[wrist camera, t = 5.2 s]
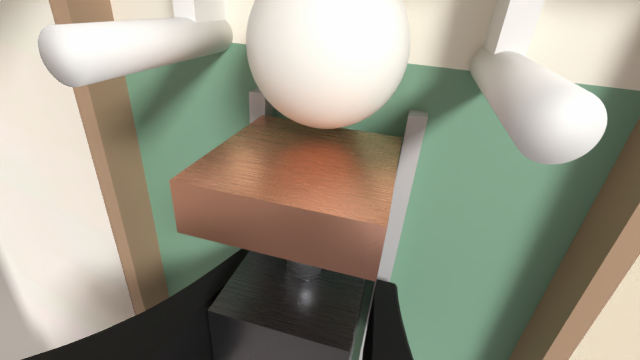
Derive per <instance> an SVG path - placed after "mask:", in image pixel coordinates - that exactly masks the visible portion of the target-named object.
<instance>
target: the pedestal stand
mask: <svg viewBox="0 0 640 360" xmlns="http://www.w3.org/2000/svg"><path fill="white" fill-rule="evenodd" d="M401 142H402V137H395V136H389V135H383V134H377V133H371V132H364V131H358V130H352V129H346V128H335V129H320V128H313V127H309V126H306V125H302V124H299V123H297V122H295V121H293V120H290V119H284V118H277V117H271V116H265V115H262V116H260V117H259V118H257V119H256V120H255V121H253V122H252V123H250V124H249V125H247V126H246V127H245V128H243V129H242V130H240V131H239V132H237V133H236V134H235V135H233V136H232V137H230V138H229V139H227V140H226V141H224V142H223V143H222V144H220V145H219V146H217V147H216V148H214V149H213V150H212V151H210V152H209V153H207V154H206V155H204V156H203V157H202V158H200V159H199V160H197V161H196V162H194V163H193V164H191V165H190V166H189V167H187V168H186V169H184V170H183V171H181V172H180V173H179V174H177V175H176V176H174V177H173V178H171V179H170V180H169V183H170V189H171V195H172V202H173V208H174V214H175V220H176V226H177V233H181V234H185V235H189V236H194V237H198V238H202V239H206V240H210V241H214V242H218V243H222V244H226V245H230V246H234V247H238V248H242V249H246V250H250V251H249V252H248V254H247V255H246V257H245V258H244V259H243V261H242V262H241V264H240V265H239V267H238V268H237V269H236V271H235V272H234V274H233V275H232V277H231V278H230V279H229V281H228V282H227V284H226V285H225V286H224V288H223V289H222V291H221V292H220V294H219V295H218V296H217V298H216V299H215V301H214V302H213V304H212V305H211V306H210V308H209V309H208V317H209V325H210V333H211V341H212V349H213V357H214V360H351V357H352V352H353V347H354V342H355V337H356V333H357V327H358V322H359V317H360V311H361V306H362V300H363V295H364V290H365V284H366V279H367V280H371V281H375V282H376V280H377V275H378V270H379V265H380V261H381V256H382V251H383V246H384V241H385V236H386V231H387V227H388V220H389V214H390V208H391V202H392V196H393V190H394V184H395V178H396V172H397V166H398V160H399V154H400V148H401Z"/></svg>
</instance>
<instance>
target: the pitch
mask: <svg viewBox="0 0 640 360" xmlns="http://www.w3.org/2000/svg"><path fill="white" fill-rule="evenodd" d="M402 1H403V4H404V6H405V8H406V12H407V16H408V20H409V26H410V33H411V46H410V54H409V60H408V64H407V68H406V70H405V73H404V75H403V78H402V80H401V82H400V84H399V86H398V87H397V89H396V91H395V92H394V94H393V95H392V96H391V98H390V99H389V100H388V101H387V102H386V103H385V104H384V105H383V106H382V107H381V108H380V109H379V110H378V111H376V112H375V113H374V114H373V115H371V116H369V117H368V118H366V119H364V120H363V121H361V122H358V123H356V124H353V125H350V126H347V127H341V128H346V129H352V130H358V131H364V132H371V133H377V134H383V135H389V136H395V137H402V142H401V148H400V154H399V160H398V166H397V172H396V178H395V184H394V190H393V196H392V202H391V208H390V214H389V220H388V227H387V231H386V236H385V241H384V246H383V251H382V256H381V261H380V265H379V270H378V275H377V279H379V280H383V281H387V282H391V283H395V284H396V286H397V288H398V299H399V305H400V311H401V316H402V320H403V324H404V328H405V332H406V336H407V339H408V343H409V346H410V350H411V353H412V356H413V359H414V360H568V359H569V358H570V356H571V355H572V353H573V352H574V350H575V349H576V347H577V346H578V345H579V343H580V342H581V340H582V339H583V337H584V336H585V334H586V333H587V331H588V330H589V328H590V327H591V325H592V324H593V322H594V321H595V319H596V318H597V316H598V315H599V314H600V312H601V311H602V309H603V308H604V306H605V305H606V303H607V302H608V300H609V299H610V297H611V296H612V294H613V293H614V291H615V290H616V288H617V287H618V285H619V284H620V283H621V281H622V280H623V278H624V277H625V275H626V274H627V272H628V271H629V269H630V268H631V266H632V265H633V263H634V262H635V260H636V259H637V257H638V256H639V254H640V0H402ZM254 2H255V0H49V3H50V6H51V10H52V14H53V17H54V21H55V25H48V26H46V27H44V28H43V29H42V30H41V32H40V34H39V38H38V47H39V52H40V56H41V58H42V60H43V63H44V64H45V66H46V68H47V69H48V71H49V72H50V73H51V74H52V75H53V76H54V77H55V78H56V79H57V80H58V81H59V82H61V83H62V84H64V85H66V86H69V87H73V90H74V94H75V97H76V101H77V105H78V108H79V112H80V115H81V119H82V123H83V126H84V130H85V134H86V137H87V141H88V144H89V148H90V152H91V155H92V159H93V163H94V166H95V170H96V174H97V177H98V181H99V184H100V188H101V192H102V195H103V199H104V203H105V206H106V210H107V214H108V217H109V221H110V224H111V228H112V232H113V235H114V239H115V243H116V246H117V250H118V254H119V257H120V261H121V264H122V268H123V272H124V275H125V279H126V283H127V286H128V290H129V294H130V297H131V301H132V304H133V308H134V312H135V315H138V314H140V313H142V312H144V311H146V310H148V309H149V308H151V307H153V306H155V305H157V304H159V303H160V302H162V301H164V300H166V299H167V298H169V297H171V296H172V295H174V294H176V293H177V292H179V291H180V290H182V289H184V288H185V287H187V286H188V285H190V284H192V283H193V282H195V281H196V280H198V279H199V278H201V277H202V276H203V275H205V274H206V273H208V272H209V271H211V270H212V269H214V268H215V267H216V266H218V265H219V264H221V263H222V262H223V261H225V260H226V259H228V258H229V257H230V256H232V255H233V254H234V253H236V252H237V251H239V250H240V249H242V248H238V247H234V246H230V245H226V244H222V243H218V242H214V241H210V240H206V239H202V238H198V237H194V236H189V235H185V234H181V233H177V226H176V220H175V214H174V208H173V202H172V195H171V189H170V183H169V180H170V179H171V178H173V177H174V176H176V175H177V174H179V173H180V172H181V171H183V170H184V169H186V168H187V167H189V166H190V165H191V164H193V163H194V162H196V161H197V160H199V159H200V158H202V157H203V156H204V155H206V154H207V153H209V152H210V151H212V150H213V149H214V148H216V147H217V146H219V145H220V144H222V143H223V142H224V141H226V140H227V139H229V138H230V137H232V136H233V135H235V134H236V133H237V132H239V131H240V130H242V129H243V128H245V127H246V126H247V125H249V124H250V123H252V122H253V121H255V120H256V119H257V118H259V117H260V116H262V115H265V116H271V117H277V118H284V119H289V118H287V117H286V116H284V115H283V114H281V113H280V112H279V111H278V110H276V109H275V108H274V107H273V106H272V105H271V104H270V103H269V102H268V101H267V100H266V98H265V97H264V95H263V94H262V93H261V91H260V89H259V88H258V86H257V84H256V82H255V80H254V78H253V75H252V73H251V70H250V67H249V62H248V58H247V50H246V31H247V24H248V19H249V15H250V12H251V9H252V6H253V4H254ZM290 120H291V119H290ZM376 281H377V280H376ZM375 286H376V282H375V281H371V280H367V279H366V284H365V290H364V295H363V300H362V306H361V311H360V317H359V322H358V327H357V333H356V337H355V342H354V347H353V352H352V357H351V360H362V356H363V347H364V341H365V336H366V330H367V325H368V320H369V315H370V310H371V305H372V300H373V295H374V290H375Z"/></svg>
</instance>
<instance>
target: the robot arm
mask: <svg viewBox="0 0 640 360" xmlns="http://www.w3.org/2000/svg"><path fill="white" fill-rule="evenodd" d="M249 251H250V250H246V249H240V250H239V251H237V252H236V253H234V254H233V255H232V256H230V257H229V258H228V259H226V260H225V261H223V262H222V263H221V264H219V265H218V266H216V267H215V268H214V269H212V270H211V271H209V272H208V273H206V274H205V275H203V276H202V277H201V278H199V279H198V280H196V281H195V282H193V283H192V284H190V285H188V286H187V287H185V288H184V289H182V290H180V291H179V292H177V293H176V294H174V295H172V296H171V297H169V298H167V299H166V300H164V301H162V302H160V303H159V304H157V305H155V306H153V307H151V308H149V309H148V310H146V311H144V312H142V313H140V314H138V315H136V316H134V317H132V318H129V319H127V320H125V321H123V322H121V323H118V324H116V325H114V326H112V327H110V328H107V329H105V330H103V331H101V332H98V333H96V334H93V335H91V336H88V337H86V338H83V339H80V340H78V341H75V342H72V343H70V344H67V345H64V346H62V347H59V348H56V349H53V350H50V351H47V352H44V353H40V354H38V355H34V356H32V357H28V358H25V359H22V360H214V357H213V349H212V341H211V333H210V325H209V317H208V309H209V308H210V306H211V305H212V304H213V302H214V301H215V299H216V298H217V296H218V295H219V294H220V292H221V291H222V289H223V288H224V286H225V285H226V284H227V282H228V281H229V279H230V278H231V277H232V275H233V274H234V272H235V271H236V269H237V268H238V267H239V265H240V264H241V262H242V261H243V259H244V258H245V257H246V255H247V254H248V252H249ZM362 360H414V359H413V356H412V353H411V350H410V346H409V343H408V339H407V336H406V332H405V328H404V324H403V320H402V316H401V311H400V305H399V299H398V288H397V286H396V284H395V283H391V282H387V281H383V280H379V279H377V281H376V286H375V290H374V295H373V300H372V305H371V310H370V315H369V320H368V325H367V330H366V336H365V341H364V347H363V356H362Z"/></svg>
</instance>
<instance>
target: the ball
mask: <svg viewBox="0 0 640 360" xmlns="http://www.w3.org/2000/svg"><path fill="white" fill-rule="evenodd" d="M410 46H411V33H410V26H409V20H408V16H407V12H406V8H405V6H404V4H403V1H402V0H255V2H254V4H253V6H252V9H251V12H250V15H249V19H248V24H247V31H246V50H247V58H248V62H249V67H250V70H251V73H252V75H253V78H254V80H255V82H256V84H257V86H258V88H259V89H260V91H261V93H262V94H263V95H264V97H265V98H266V100H267V101H268V102H269V103H270V104H271V105H272V106H273V107H274V108H275V109H276V110H278V111H279V112H280V113H281V114H283V115H284V116H286V117H287V118H289V119H291V120H293V121H295V122H297V123H299V124H302V125H306V126H309V127H313V128H320V129H335V128H341V127H347V126H350V125H353V124H356V123H358V122H361V121H363V120H364V119H366V118H368V117H369V116H371V115H373V114H374V113H375V112H376V111H378V110H379V109H380V108H381V107H382V106H383V105H384V104H385V103H386V102H387V101H388V100H389V99H390V98H391V96H392V95H393V94H394V92H395V91H396V89H397V87H398V86H399V84H400V82H401V80H402V78H403V75H404V73H405V70H406V68H407V64H408V60H409V54H410Z"/></svg>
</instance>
